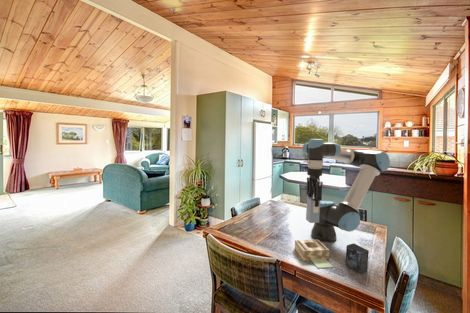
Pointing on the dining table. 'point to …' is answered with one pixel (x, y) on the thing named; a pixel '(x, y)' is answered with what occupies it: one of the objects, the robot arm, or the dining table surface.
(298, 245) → the socket block
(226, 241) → the dining table surface
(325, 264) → the felt pad
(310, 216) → the plug
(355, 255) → the box
